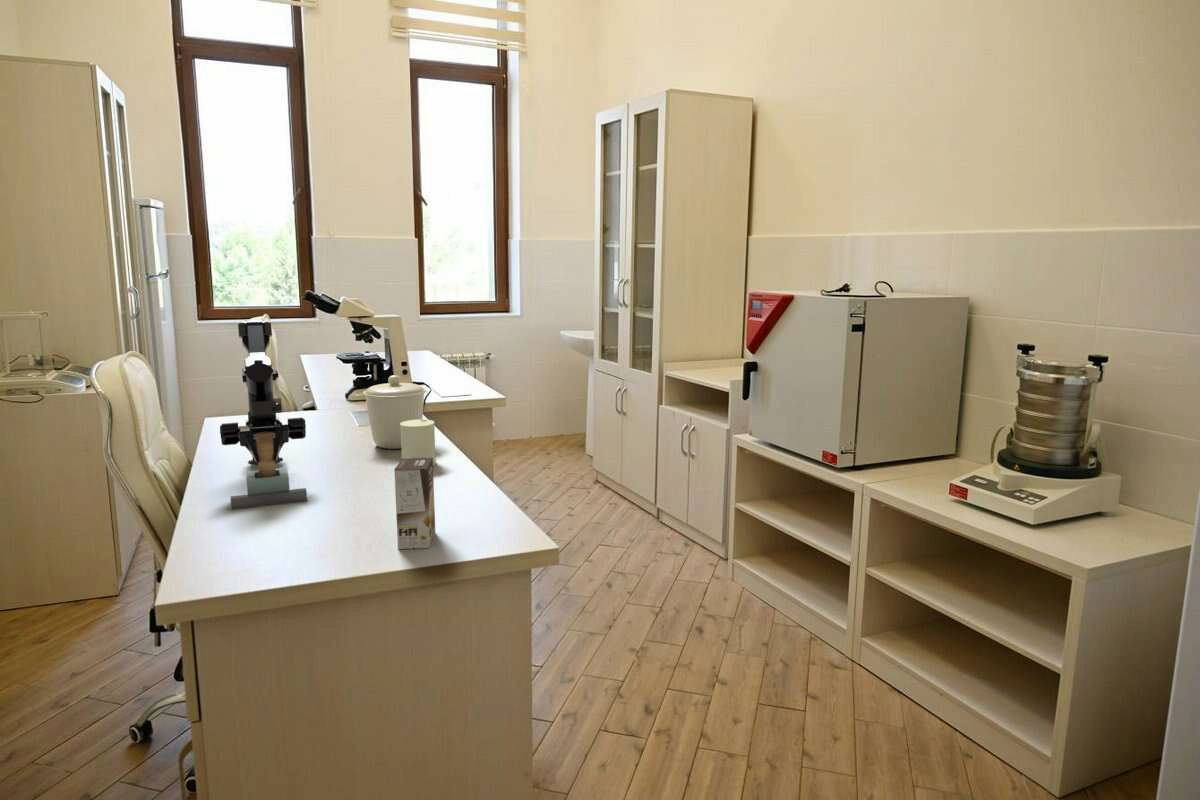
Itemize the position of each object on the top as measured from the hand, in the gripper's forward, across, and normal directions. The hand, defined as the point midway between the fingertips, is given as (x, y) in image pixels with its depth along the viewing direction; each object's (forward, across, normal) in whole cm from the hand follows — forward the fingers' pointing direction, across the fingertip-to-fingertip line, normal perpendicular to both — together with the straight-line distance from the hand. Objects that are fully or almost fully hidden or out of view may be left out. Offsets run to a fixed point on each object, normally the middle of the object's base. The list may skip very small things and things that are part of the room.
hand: (266, 461), depth 187 cm
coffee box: (+37, +26, -24) cm, 51 cm away
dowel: (+4, 0, +6) cm, 7 cm away
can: (-4, +38, +17) cm, 42 cm away
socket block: (+5, 0, +7) cm, 9 cm away
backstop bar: (+10, 0, +2) cm, 11 cm away
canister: (-21, +36, +34) cm, 54 cm away
